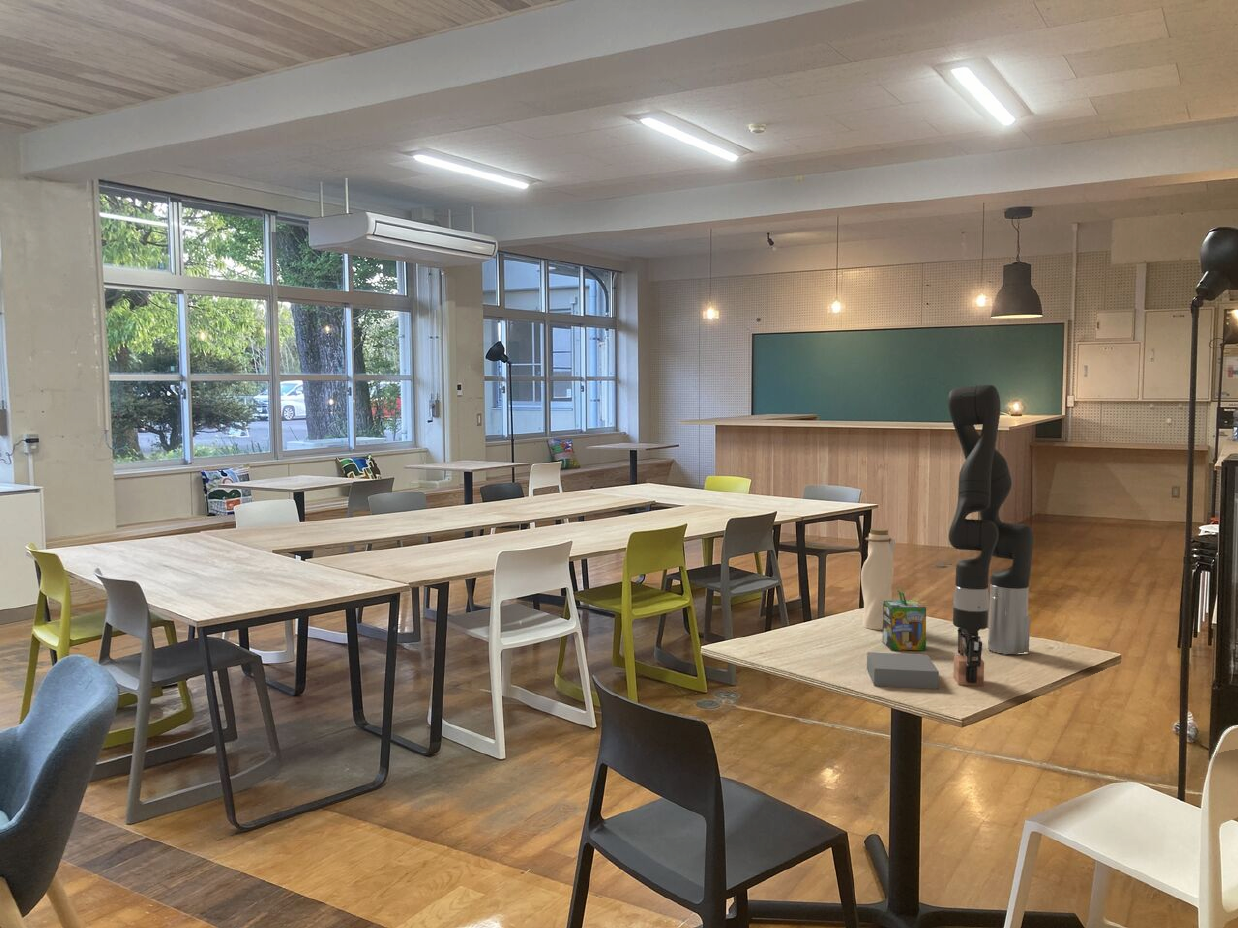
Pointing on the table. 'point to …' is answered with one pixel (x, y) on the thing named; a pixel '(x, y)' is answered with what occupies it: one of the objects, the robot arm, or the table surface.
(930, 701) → the table surface
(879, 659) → the charcoal base
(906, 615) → the chalk box
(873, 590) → the water bottle
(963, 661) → the terracotta cube
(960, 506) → the robot arm
